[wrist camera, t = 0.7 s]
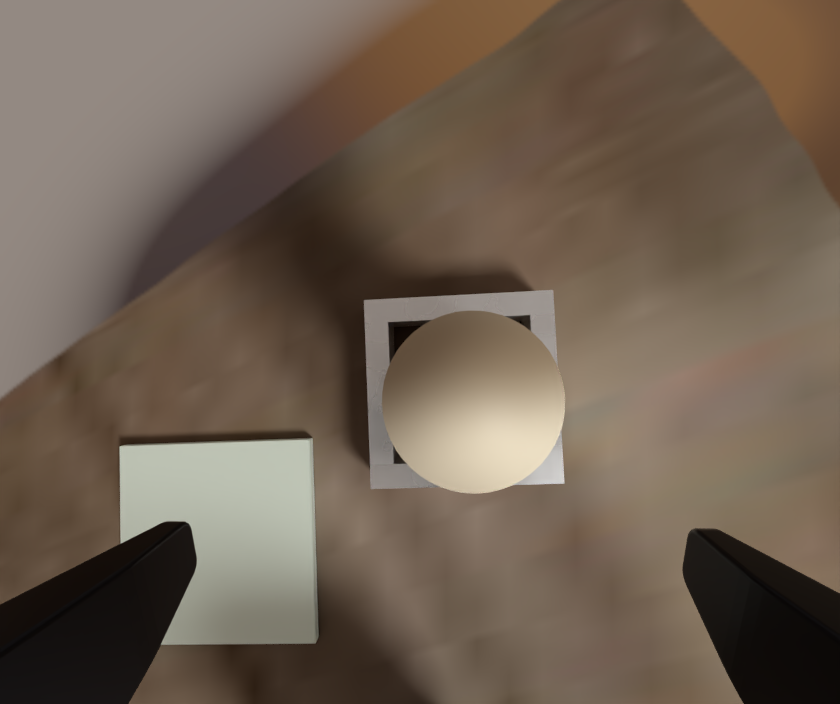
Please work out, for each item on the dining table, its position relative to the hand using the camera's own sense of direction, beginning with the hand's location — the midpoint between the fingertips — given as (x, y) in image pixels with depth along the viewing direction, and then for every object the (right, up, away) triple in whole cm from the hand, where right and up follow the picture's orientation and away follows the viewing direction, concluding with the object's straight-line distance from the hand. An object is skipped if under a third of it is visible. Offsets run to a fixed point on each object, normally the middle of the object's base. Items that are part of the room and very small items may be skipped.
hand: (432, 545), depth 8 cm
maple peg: (+2, +1, +16) cm, 17 cm away
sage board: (-12, -7, +17) cm, 22 cm away
